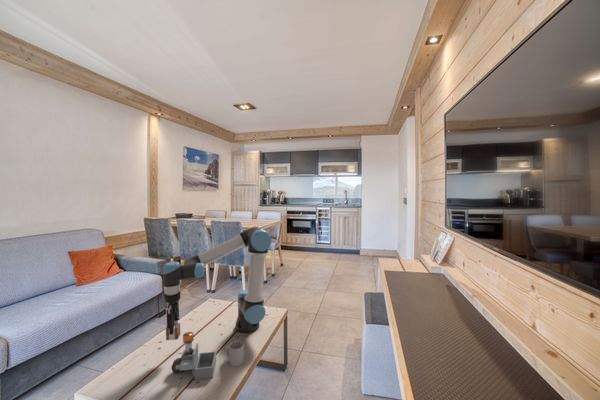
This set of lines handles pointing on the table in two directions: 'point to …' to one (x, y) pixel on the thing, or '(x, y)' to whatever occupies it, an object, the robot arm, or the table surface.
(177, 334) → the block
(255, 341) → the table surface
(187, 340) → the pin
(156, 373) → the table surface
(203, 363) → the bin
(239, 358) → the cup
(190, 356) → the grey bracket
